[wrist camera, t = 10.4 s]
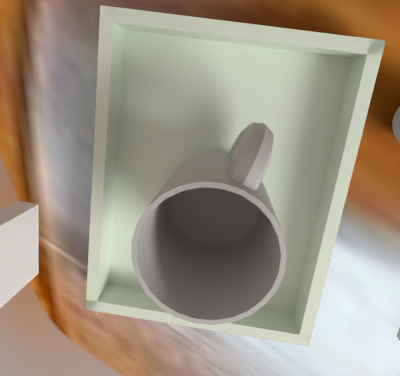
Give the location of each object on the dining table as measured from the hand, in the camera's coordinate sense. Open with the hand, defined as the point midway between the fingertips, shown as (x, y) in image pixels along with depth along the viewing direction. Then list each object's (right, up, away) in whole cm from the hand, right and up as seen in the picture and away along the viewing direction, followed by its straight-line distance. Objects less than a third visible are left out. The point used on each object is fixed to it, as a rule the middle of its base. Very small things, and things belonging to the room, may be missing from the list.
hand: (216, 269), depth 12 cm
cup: (+1, +3, +12) cm, 13 cm away
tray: (+1, +3, +13) cm, 13 cm away
